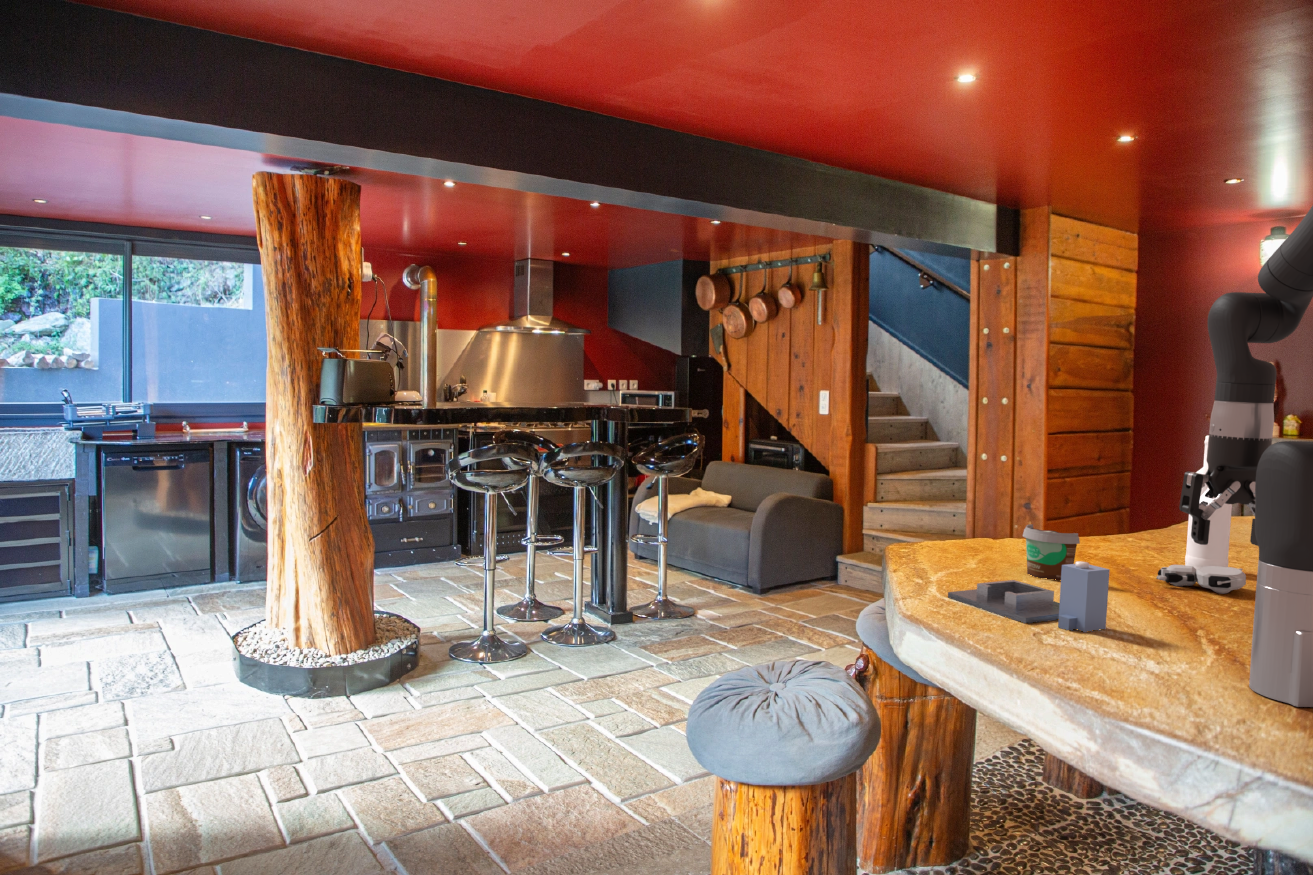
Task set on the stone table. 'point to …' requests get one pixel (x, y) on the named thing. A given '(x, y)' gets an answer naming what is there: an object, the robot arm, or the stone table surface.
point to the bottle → (1210, 534)
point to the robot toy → (1204, 577)
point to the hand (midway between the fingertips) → (1229, 544)
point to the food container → (1049, 551)
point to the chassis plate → (1012, 600)
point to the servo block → (1083, 597)
